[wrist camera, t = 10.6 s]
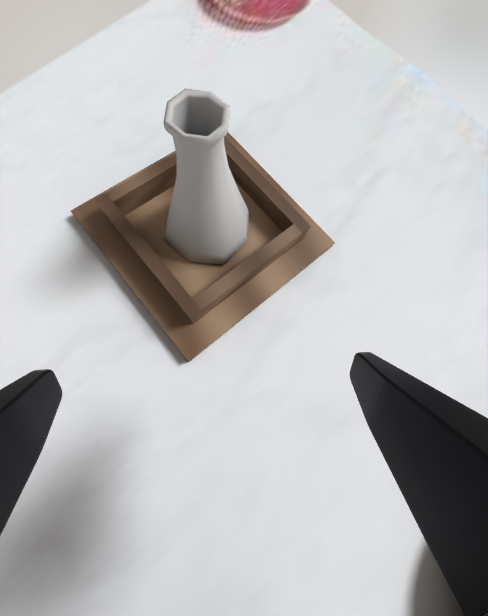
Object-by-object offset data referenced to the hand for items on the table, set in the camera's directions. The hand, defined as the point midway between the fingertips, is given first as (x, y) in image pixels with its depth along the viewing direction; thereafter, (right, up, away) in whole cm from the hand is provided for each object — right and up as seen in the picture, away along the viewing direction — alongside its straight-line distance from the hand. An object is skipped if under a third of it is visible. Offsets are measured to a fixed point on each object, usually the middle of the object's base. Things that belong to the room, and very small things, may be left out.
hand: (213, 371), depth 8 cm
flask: (-2, +9, +14) cm, 17 cm away
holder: (-2, +9, +15) cm, 18 cm away
